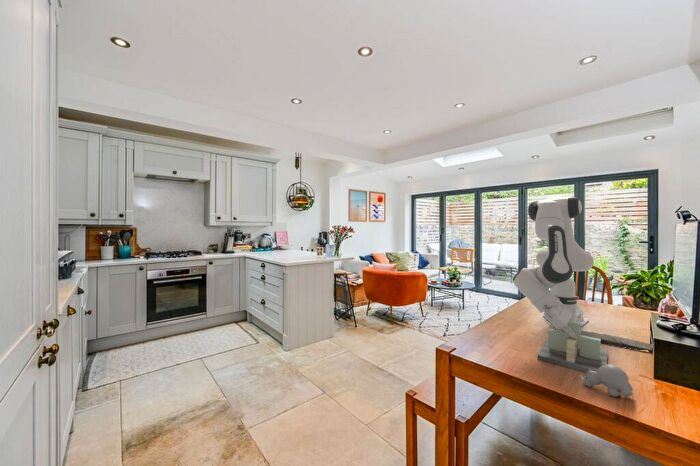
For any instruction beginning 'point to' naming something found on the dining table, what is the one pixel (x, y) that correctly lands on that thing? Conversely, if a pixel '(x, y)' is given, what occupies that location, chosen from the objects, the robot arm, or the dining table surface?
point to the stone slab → (618, 341)
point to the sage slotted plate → (587, 344)
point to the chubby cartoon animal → (609, 380)
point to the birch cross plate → (572, 357)
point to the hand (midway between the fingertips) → (575, 332)
